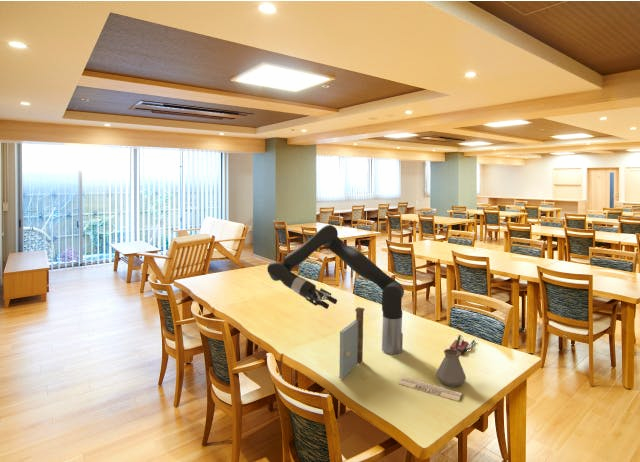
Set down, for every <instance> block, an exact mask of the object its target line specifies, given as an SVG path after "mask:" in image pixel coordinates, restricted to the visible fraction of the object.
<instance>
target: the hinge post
mask: <svg viewBox="0 0 640 462" xmlns="http://www.w3.org/2000/svg"><path fill="white" fill-rule="evenodd" d="M364 311H365V308H364V307H356V308H355V314H356V315H355V320H359V329H358V364H361V363H363V358H364V357H363V353H364V352H363V349H364V348H363V345H364V342H363V341H364Z"/></svg>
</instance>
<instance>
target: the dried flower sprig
mask: <svg viewBox="0 0 640 462" xmlns="http://www.w3.org/2000/svg"><path fill="white" fill-rule="evenodd" d="M457 340H458V339H455V340H454V341H453V342H452V343H451V345H450V346H449V349H454V350H455V345H456V342H457ZM464 340H465V339H464V338H462V339H460V341H459V345H458V348H457V351H459V352H460V353H461V355H460V356H464V354H465V353H466V351H467V350H470V349H471V348H472V347H473V348H474V344H475V342H476V340H475V339H473V340H472V341H471V342H470V343H469V342H468V341H466V340H465V341H464ZM473 343H474V344H473Z"/></svg>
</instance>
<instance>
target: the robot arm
mask: <svg viewBox="0 0 640 462" xmlns="http://www.w3.org/2000/svg"><path fill="white" fill-rule="evenodd" d="M322 246H324V247H325V248H327V249H328V250H329V251H331V252H332V253H334V254H335V255H336V256H338V258H339V259H340V260H342V261H343V262H344V264H346V265H347V266H348V267H349V268H350V269H351V270H352V271H353V272H355V273H356V274H357V275H358V276H360V277H362V278H363V279H365V280H367V281H369V282H372V283H373V284H375V285H376V286H377V287H379V288H380V289H381V290H382V292H381V293H382V294H381V311H382V327H381V328H382V331H381V333H382V335H381V336H382V337H381V351H382V352H383V353H386V354H389V355H398V354H401V353H402V354H403V344H404V341H403V339H404V334H403V310H402V300H403V297H404V295H405V288H404V287H403V286H402V284H401V283H400V282H398V281H397V280H395V279H394V278H392V277H391V276H389V275H388V274H386V272H384V271H383V270H382V269H381V268H380V267H379V266H377V264H375V263H374V262H373V261H372V260H370V259H369V258H368V257H367V256H366V255H365V254H364V253H362V252H361V251H359V250H357V249H355V248H353V247H351V246H349V245H347V244H346V243H345V242H344V241H343V240H342V239H341V238H340V237H339V235H338V229H337V228H336V227H335V226H334V225H331V224H328V225H324V226H323V227H321V228H320V229H319V230H318V231H317V232H316V233H315V234H314V235H313V236H312V237H310V238H309V239H308V240H307V241H306V242H304V243H303V244H301V245H300V246H298V247H297V248H296V249H294V250H293V251H291V252H290V253H288V254H286V255H285V256H284V258H283V261H282V263H280V262H278V261H272V262H270V263H269V264H268V266H267V273H268V275H269V277H270V278H271V279H272V281H275V282H278V281H280V282H281V283H282V284H283V285H284V286H285V287H287V288H289V289H290V290H292V291H293V292H294V293H296V294H297V295H299V296H301V297H302V298H304V299H305V300H306V301H307V302H309V303H310V304H312V305H314V306H316V307H317V306H321V307H322V308H323V309H326V310H328V308H329V307H330V304H329V303H332V304H334V305H337V302H338V299H337V298H335V297H333V296H332V293H331V292H329V291H327V290H325V289H324V288H322V287H321V288H320V289H317V286H316V284H315V283H312V282H311V281H309V280H307V279H305V278H304V277H301V276H299V275H297V274H295V273H294V272H292V270H293V269H294V268H297V266H299V265H300V264H302V263H303V262H304V261H305V260H307V259H308V258H309V257H310V256H311V255H312V254H313V253H314V252H316V250H317V249H319V248H321V247H322ZM324 300H326V301H329V303H327V302H325V301H324Z"/></svg>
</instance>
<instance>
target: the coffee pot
mask: <svg viewBox="0 0 640 462" xmlns="http://www.w3.org/2000/svg"><path fill="white" fill-rule="evenodd" d="M463 338H464V336H462V335H461V334H458V335H457V339H456V340H457V342H456V345H455V350H454V349H450V348H446V349H444V350H443V353H444V358H443V360H442V362H441V363H440V365H439V367H438V368H437V370H436V376H437V378H438V380H439V381H440V382H441V383H442V384H443V385H445V386H448V387H453V388H454V387H455V386H456V387H459V386H461V385H462V384H464V383H465V381H466V380H467V379H466V378H467V377H466V374H465V371H464V368H463V366H462V364H461V360H460V357H461V356H462V355H461V353H460V352H459V351H457V348H458V345H459V341H460V339H463Z"/></svg>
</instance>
